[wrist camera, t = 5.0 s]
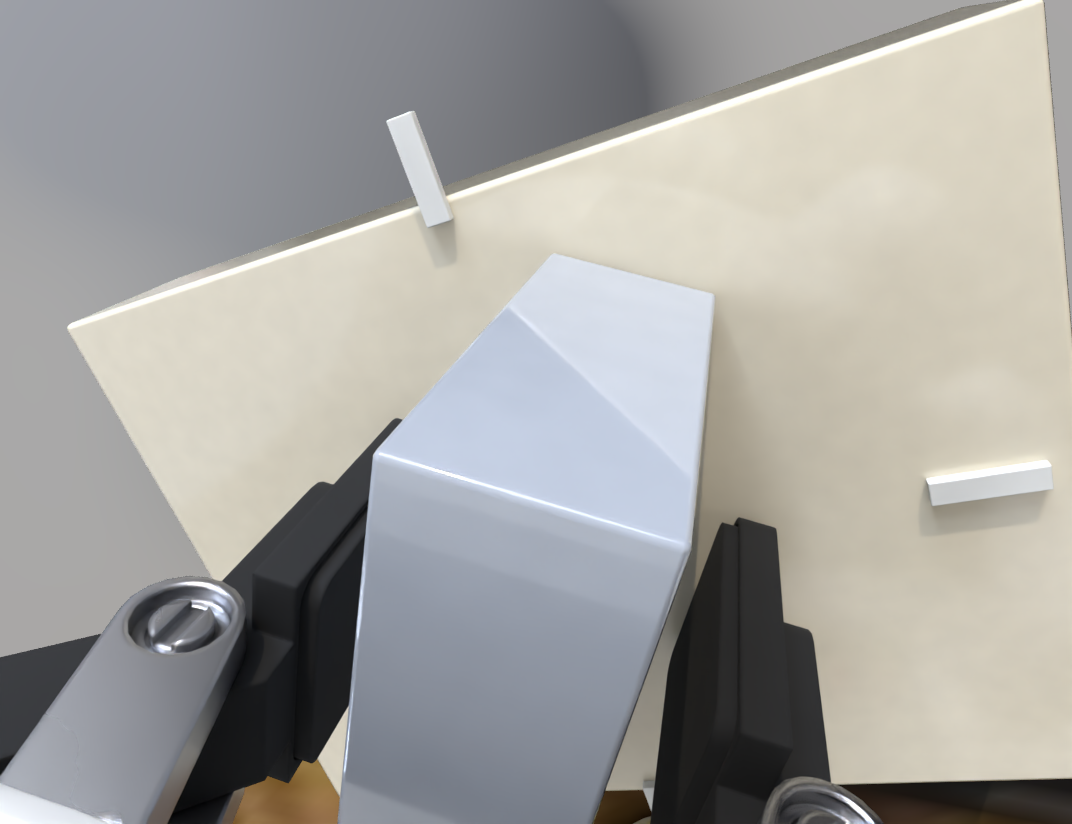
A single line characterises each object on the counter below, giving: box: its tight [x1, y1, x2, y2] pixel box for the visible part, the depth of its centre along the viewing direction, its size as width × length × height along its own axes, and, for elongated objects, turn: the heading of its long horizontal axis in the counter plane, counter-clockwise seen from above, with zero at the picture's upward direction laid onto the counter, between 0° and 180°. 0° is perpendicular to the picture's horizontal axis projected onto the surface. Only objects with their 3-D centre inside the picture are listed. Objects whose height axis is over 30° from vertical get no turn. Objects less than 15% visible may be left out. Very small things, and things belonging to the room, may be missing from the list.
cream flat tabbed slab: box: [67, 0, 1072, 812], centre depth 13 cm, size 14×13×3 cm
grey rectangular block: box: [337, 253, 716, 824], centre depth 9 cm, size 9×2×6 cm, turn 169°
